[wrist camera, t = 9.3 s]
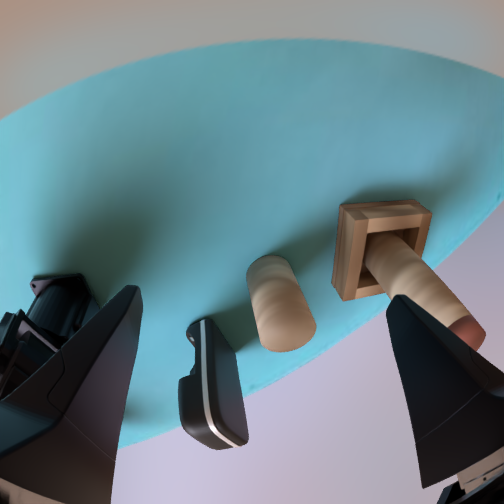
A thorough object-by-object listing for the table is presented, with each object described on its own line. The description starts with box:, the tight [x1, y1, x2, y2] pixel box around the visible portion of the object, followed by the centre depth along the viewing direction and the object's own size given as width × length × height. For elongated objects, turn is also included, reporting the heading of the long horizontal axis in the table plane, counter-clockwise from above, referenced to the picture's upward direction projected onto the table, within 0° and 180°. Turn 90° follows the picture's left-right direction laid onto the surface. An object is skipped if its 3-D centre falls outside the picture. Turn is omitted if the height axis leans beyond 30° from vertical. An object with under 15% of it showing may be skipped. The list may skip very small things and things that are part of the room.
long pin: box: [362, 230, 486, 351], centre depth 19 cm, size 4×4×13 cm
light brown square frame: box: [331, 200, 432, 301], centre depth 24 cm, size 8×8×3 cm
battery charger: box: [178, 319, 249, 450], centre depth 24 cm, size 7×4×11 cm, turn 19°
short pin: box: [246, 255, 316, 352], centre depth 22 cm, size 4×4×7 cm
